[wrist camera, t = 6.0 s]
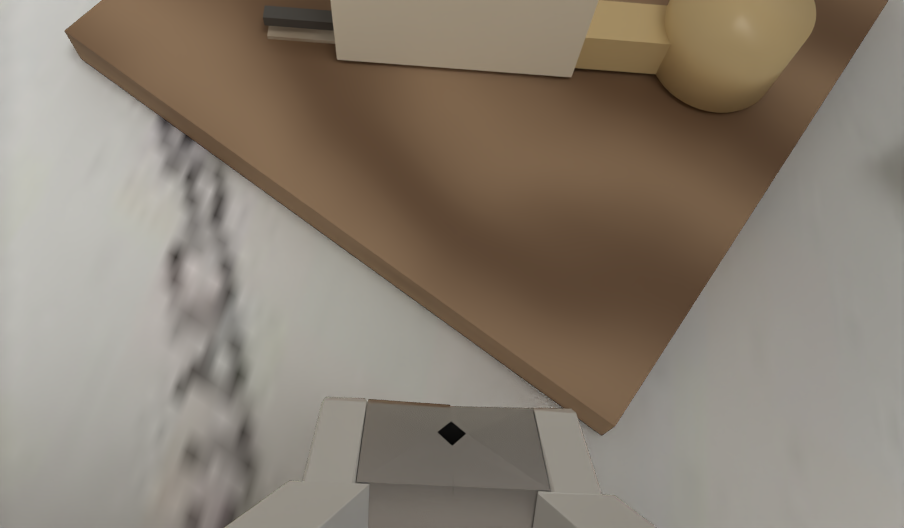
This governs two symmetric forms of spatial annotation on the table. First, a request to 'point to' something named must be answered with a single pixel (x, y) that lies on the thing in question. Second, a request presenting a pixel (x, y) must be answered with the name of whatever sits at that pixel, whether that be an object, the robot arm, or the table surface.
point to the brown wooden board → (485, 174)
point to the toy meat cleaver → (578, 39)
